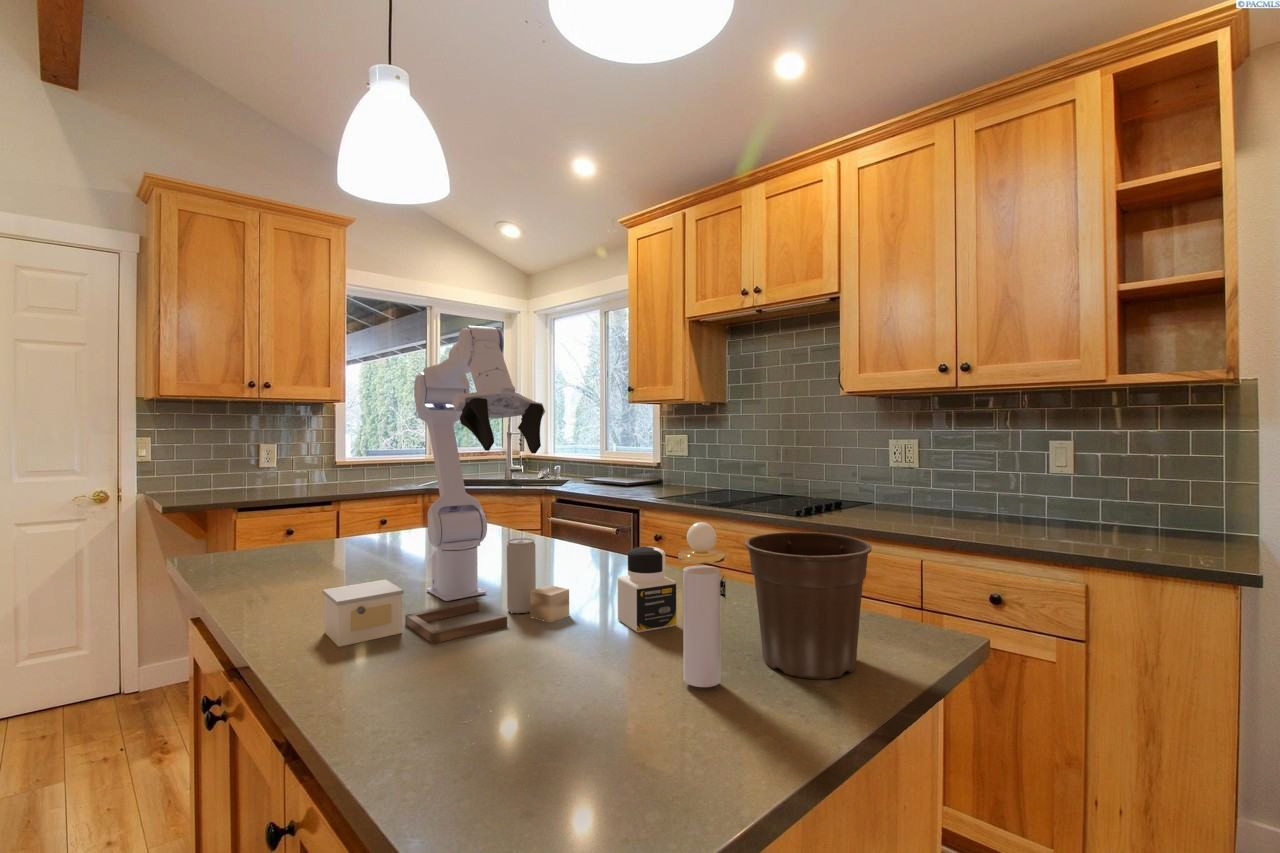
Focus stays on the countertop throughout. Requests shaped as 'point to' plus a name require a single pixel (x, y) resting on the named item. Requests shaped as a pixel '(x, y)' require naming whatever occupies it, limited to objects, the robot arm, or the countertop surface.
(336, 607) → the control box
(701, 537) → the perfume bottle
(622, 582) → the medicine bottle
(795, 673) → the plant pot
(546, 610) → the beech block
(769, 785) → the countertop surface
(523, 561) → the beverage can
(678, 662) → the countertop surface
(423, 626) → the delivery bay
